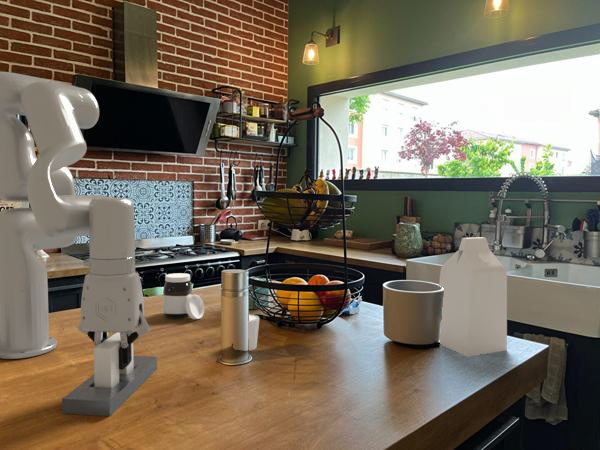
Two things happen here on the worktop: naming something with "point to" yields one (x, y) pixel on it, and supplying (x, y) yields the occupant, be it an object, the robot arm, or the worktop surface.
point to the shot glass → (253, 331)
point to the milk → (474, 300)
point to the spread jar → (181, 298)
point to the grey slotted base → (108, 391)
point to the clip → (109, 362)
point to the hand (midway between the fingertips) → (114, 365)
